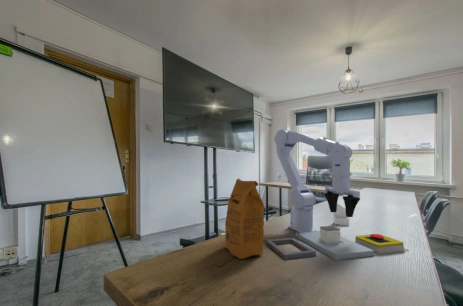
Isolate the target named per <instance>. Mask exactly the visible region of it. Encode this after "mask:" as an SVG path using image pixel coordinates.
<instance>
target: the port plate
mask: <svg viewBox="0 0 463 306" xmlns="http://www.w3.org/2000/svg"><path fill="white" fill-rule="evenodd" d="M295 234H296V235H295V237H296V238H297V239H299V240H300V241H302V242H304V243H306V244H308V245H309V246H311V247H312V248H314V249H316V250H318V251H320V252H322V253H323V254H325V255H326V256H329V257H330V258H332V259H333V260H335V261H341V260H347V259H357V258H365V257H373V256H375V254H374V250H372V249H369V248H367V247H365V246H362V245H360V244H358V243H355V241H353V240H351V239H348V238H347V237H343V236H341V235H340V243H336V244H327V243H325V242H323V241H321V240H320V230H317V232H303V233H299V232H296V233H295Z"/></svg>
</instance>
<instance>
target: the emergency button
mask: <svg viewBox="0 0 463 306" xmlns="http://www.w3.org/2000/svg"><path fill="white" fill-rule="evenodd" d="M354 242H355V243H358V244H360V245H362V246H365V247H367V248H369V249H372V250H374V256H375V255H376V256H377V255H378V256H380V255H385V254H394V253H401V252H408V251H410V250H409V249H408V248H405V247H404V241H401V240H398V239H395V238H392V237H389V236H386V235H383V234H380V233H371V234H362V235H355V240H354Z"/></svg>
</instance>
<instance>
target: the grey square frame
mask: <svg viewBox="0 0 463 306" xmlns="http://www.w3.org/2000/svg"><path fill="white" fill-rule="evenodd" d="M265 244H266V245H267V246H268V247H269V248H270V249H272V250H273V251H274V252H276V254H278V255H280V256H281V258H282V259H284V260H290V259H292V260H293V259H299V258H300V259H301V258H309V257H317V251H316V250H315V249H312V248H310V247H309V246H308V245H306V244H304V243H302V242H300V241H299V240H297V239H296V238H294V237H286V238H276V239H275V238H274V239H266V240H265ZM281 244H293V246H294V245H295V246H296V247H298V248H299V249H301V250H302V251H292V252H286V251H285V250H283V249H282V248H281V247H280V246H278V245H281Z"/></svg>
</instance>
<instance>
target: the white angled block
mask: <svg viewBox="0 0 463 306" xmlns="http://www.w3.org/2000/svg"><path fill="white" fill-rule="evenodd" d="M332 213H333V215H332V216H333V220H332V221H333V222H334V223H333V224H334V225H336V224H339V225H338V226H350V217H346V209H345V206H342V205H341V204H338V203H337V210H336V212H332Z"/></svg>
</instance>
